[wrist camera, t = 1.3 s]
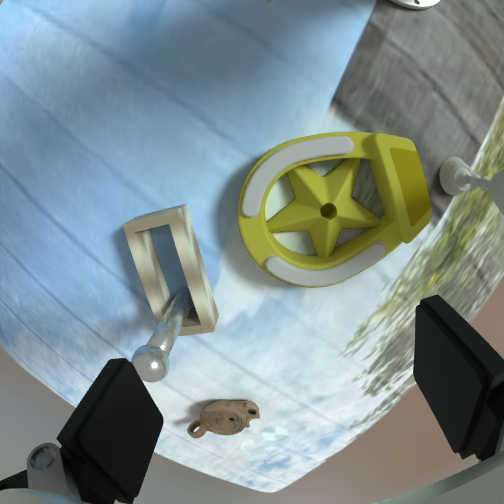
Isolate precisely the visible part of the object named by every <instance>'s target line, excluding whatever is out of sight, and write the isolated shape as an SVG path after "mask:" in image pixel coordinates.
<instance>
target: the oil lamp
mask: <svg viewBox="0 0 504 504" xmlns="http://www.w3.org/2000/svg"><path fill="white" fill-rule="evenodd" d="M255 418H260V415H259V408H258V407H257V405H256V404H255V403H254V402H252V401H231V400H219V401H215V402H213V403H211V404H209V405H207V406H206V407H205V408H204V409H203V411H202V412H201V414H200V420H196V421H194V422H193V423H191V424H190V425H189V427H188V429H187V431H188V434H189V435H190V436H192V437H193V438H200V437H202V436H203V435H204V434H205V433H206V431H210V432H213V433H215V434H220V435H233V434H236V433H239V432H241V431H242V430H243V429H244V428H245V427H246V428H248V427H250V425H249V421H250V420H252V419H255ZM198 426H200V428H199V429H198V430H197V431H196V432H194V429H195V428H196V427H198Z"/></svg>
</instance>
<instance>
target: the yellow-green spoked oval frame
mask: <svg viewBox="0 0 504 504" xmlns="http://www.w3.org/2000/svg"><path fill="white" fill-rule="evenodd" d="M342 158H347V159H346V160H345V161H343V162H342V163H341V164H339V165H338V166H337V167H336V168H334V169H333V170H332V171H331V172H329V173H328V174H327V175H325V176H320V175H318V174H317V173H315V172H314V171H312V170H311V169H309V168H308V167H306V166H305V164H309V163H313V162H318V161H324V160H331V159H342ZM362 158H366V159H368V161H369V164H370V167H371V171H372V174H373V177H374V180H375V183H376V186H377V190H378V193H379V196H380V200H381V203H382V207H383V210H384V215H383V216H382V217H381V218H380V219H379V218H378V217H377V216H375V215H374V214H373V213H371V212H370V211H369V210H367V209H366V208H365V207H363V206H362V205H361V204H359V203H358V202H357V201H355V200H354V199H353V198H352V191H353V188H354V184H355V181H356V177H357V174H358V170H359V166H360V163H361V159H362ZM286 172H287V175H288V178H289V180H290V183H291V185H292V188H293V190H294V193H295V196H296V197H295V200H294V201H293V202H291V203H290V204H289V205H287V206H286V207H285V208H284V209H282V210H281V211H280V212H279V213H277V214H276V215H275V216H274V217H272V218H271V219H270V220H269V221H266V217H265V203H266V199H267V196H268V194H269V192H270V190H271V188H272V187H273V185H274V184H275V182H276V181H277V180H278V179H279V178H280V177H281V176H282V175H284V174H285V173H286ZM431 207H432V206H431V202H430V197H429V193H428V189H427V185H426V181H425V177H424V173H423V170H422V166H421V163H420V159H419V156H418V152H416V149H415V146H414V144H413V142H412V141H411V140H409V139H407V138H403V137H398V136H393V135H387V134H382V133H365V132H334V133H324V134H317V135H311V136H306V137H302V138H298V139H294V140H290V141H287V142H285V143H282V144H281V145H279V146H277V147H275V148H273V149H272V150H270V151H269V152H268V153H266V154H265V155H264V156H263V157H262V158H261V159H260V160H259V161H258V162H257V163H256V164H255V165H254V167H253V168H252V169H251V171H250V172H249V174H248V176H247V177H246V179H245V182H244V184H243V186H242V189H241V192H240V196H239V202H238V224H239V230H240V233H241V237H242V239H243V242H244V244H245V246H246V248H247V250H248V252H249V253H250V255H251V256H252V258H253V259H254V260H255V261H256V263H257V264H258V265H259V266H260V267H261V268H262V269H263V270H265V271H266V272H267V273H269V274H270V275H271V276H273V277H275V278H277V279H278V280H280V281H283V282H285V283H288V284H291V285H294V286H300V287H309V288H316V287H326V286H330V285H334V284H337V283H340V282H343V281H345V280H347V279H349V278H351V277H353V276H355V275H357V274H359V273H360V272H362V271H364V270H365V269H367V268H369V267H370V266H372V265H374V264H375V263H376V262H378V261H379V260H381V259H382V258H384V257H385V256H386V255H388V254H389V253H390V252H391V251H393V250H394V249H395V248H396V247H398V246H399V245H400V244H401V243H402V242H404V243H406V244H407V243H410V242H411V241H412V240H413V239H414V238H415V237H416V236H417V235H418V234H419V233H420V232H421V231H422V230H423V229H424V227H425V226H426V225H427V224H428V223H429V222H430V220H431V217H432V210H431ZM367 227H369V228H368V229H366V230H365V231H364V232H362V233H361V234H359V235H358V236H356V237H355V238H353V239H352V240H350V241H348V242H347V243H345V244H343V245H341V246H339V247H337V248H336V249H335V246H336V243H337V239H338V236H339V233H340V231H341V230H342V229H344V228H367ZM300 230H307V231H309V233H310V236H311V238H312V241H313V244H314V247H315V250H316V252H317V255H303V254H299V253H296V252H293V251H291V250H289V249H287V248H286V247H284V246H283V245H281V244H280V243H279V242H278V241H277V240H276V238H275V237H274V236H273V234H272V233H271V232H280V231H300Z"/></svg>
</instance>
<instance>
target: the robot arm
mask: <svg viewBox="0 0 504 504" xmlns="http://www.w3.org/2000/svg"><path fill="white" fill-rule="evenodd" d="M390 1H392V2H393V3H396V4H398V5H401V6H403V7H407V8H411V9H418V10H420V9H428V8H431V7H433V6H435V5H436V4H437V3H438V2H439V1H440V0H390ZM413 374H414V378H415V381H416V383H417V384H418V386H419V388H420V390H421V391H422V393H423V395H424V397H425V399H426V400H427V402H428V404H429V406H430V408H431V410H432V412H433V413H434V415H435V417H436V419H437V421H438V423H439V425H440V427H441V429H442V431H443V432H444V434H445V437H446V439H447V440H448V443H449V444H450V446H451V449H452V450H453V452H454V453H458V452H459V454H460V456H461V458H462V459H465V458H467V457H469V456H470V455H473V454H475V455H476V457H477V458H478V459H479V462H478V464H476V465H474V466H472V467H469V468H467V469H466V470H463V471H461V472H459V473H457V474H455V475H452V476H450V477H448V478H445V479H443V480H440V481H438V482H436V483H433V484H431V485H428V486H425V487H422V488H420V489H417V490H414V491H411V492H409V493H406V494H403V495H400V496H397V497H393V498H390V499H387V500H384V501H380V502H377V503H373V504H504V359H503V358H501V356H500V355H499V354H498V353H497V352H496V351H495V350H494V349H493V348H492V347H491V346H490V345H489V343H488V342H487V341H486V340H485V339H484V338H483V337H482V336H481V335H480V334H479V333H478V332H477V331H476V330H475V329H474V328H473V327H471V325H470V324H469V323H468V322H467V321H466V320H465V319H464V318H463V317H461V316H460V315H459V314H458V313H457V312H456V311H455V310H454V309H453V308H452V307H451V306H450V305H449V304H448V303H447V302H446V301H445V300H443V299H442V298H441V297H440V296H439V295H434V296H431V297H428V298H425V299H422V300H421V301H420V305H417V306H416V317H415V351H414V367H413ZM162 426H163V416H162V414H161V412H160V411H159V409H158V407H157V406H156V404H155V402H154V401H153V399H152V397H151V396H150V394H149V392H148V390H147V389H146V387H145V385H144V383H143V382H142V380H141V378H140V376H139V374H138V372H137V371H136V369H135V367H134V365H133V364H132V363H131V362H129V361H128V360H127V359H126V358H118V359H110V360H109V361H108V362H107V364H106V365H105V367H104V368H103V369H102V371H101V372H100V374H99V375H98V377H97V378H96V379H95V381H94V382H93V384H92V385H91V387H90V388H89V390H88V391H87V393H86V394H85V396H84V397H83V399H82V400H81V401H80V403H79V404H78V406H77V407H76V409H75V411H74V412H73V414H72V415H71V417H70V418H69V420H68V421H67V423H66V424H65V426H64V427H63V429H62V430H61V432H60V434H59V435H58V437H57V438H56V439H57V440H58V441H59V442H60V444H61V445H62V447H61V448H59V447H58V446H57V445H56V444H53V443H44V444H41V445H39V446H37V447H36V448H35V449H33V451H32V452H31V453H30V454H29V456H28V459H27V469H26V470H24V471H22V472H20V473H17V474H15V475H13V476H10V477H8V478H6V479H3V480H1V481H0V504H114V502H115V499H116V500H117V501H118V502H121V503H126V504H132V503H133V500H134V498H135V497H137V496H138V494H139V491H140V489H141V486H142V483H143V480H144V477H145V474H146V472H147V469H148V466H149V463H150V460H151V457H152V454H153V452H154V449H155V446H156V443H157V440H158V437H159V435H160V432H161V429H162Z"/></svg>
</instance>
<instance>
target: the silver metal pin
mask: <svg viewBox="0 0 504 504" xmlns="http://www.w3.org/2000/svg"><path fill="white" fill-rule="evenodd" d="M193 303H194V302H193V299H192V296H191V293H190V290H189V288H182V289H180V290H179V292H178V293H177V295H176V297H175V298H174V300H173V302H172V303H171V305H170V306H169V308H168V310H167V311H166V313H165V315H164V316H163V318H162V320H161V321H160V323H159V325H158V326H157V328H156V330H155V331H154V333H153V335H152V336H151V338H150V340H149V341H148V343H147V345H143V346H141V347H139V348H138V349H137V350H136V351H135V352H134V354H133V356H132V364H133V365H134V367H135V369H136V371H137V372H138V374H139V376H140V378H141V379H142V380H143V381H146V382H158V381H160V380H162V379H163V378H164V377H165V376H166V375H167V373H168V371H169V367H170V362H169V358H168V356H169V354H170V352H171V349H172V347H173V345H174V343H175V341H176V339H177V337H178V335H179V333H180V330H181V328H182V326H183V324H184V322H185V320H186V318H187V316H188V314H189V312H190V310H191V308H192V305H193Z"/></svg>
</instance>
